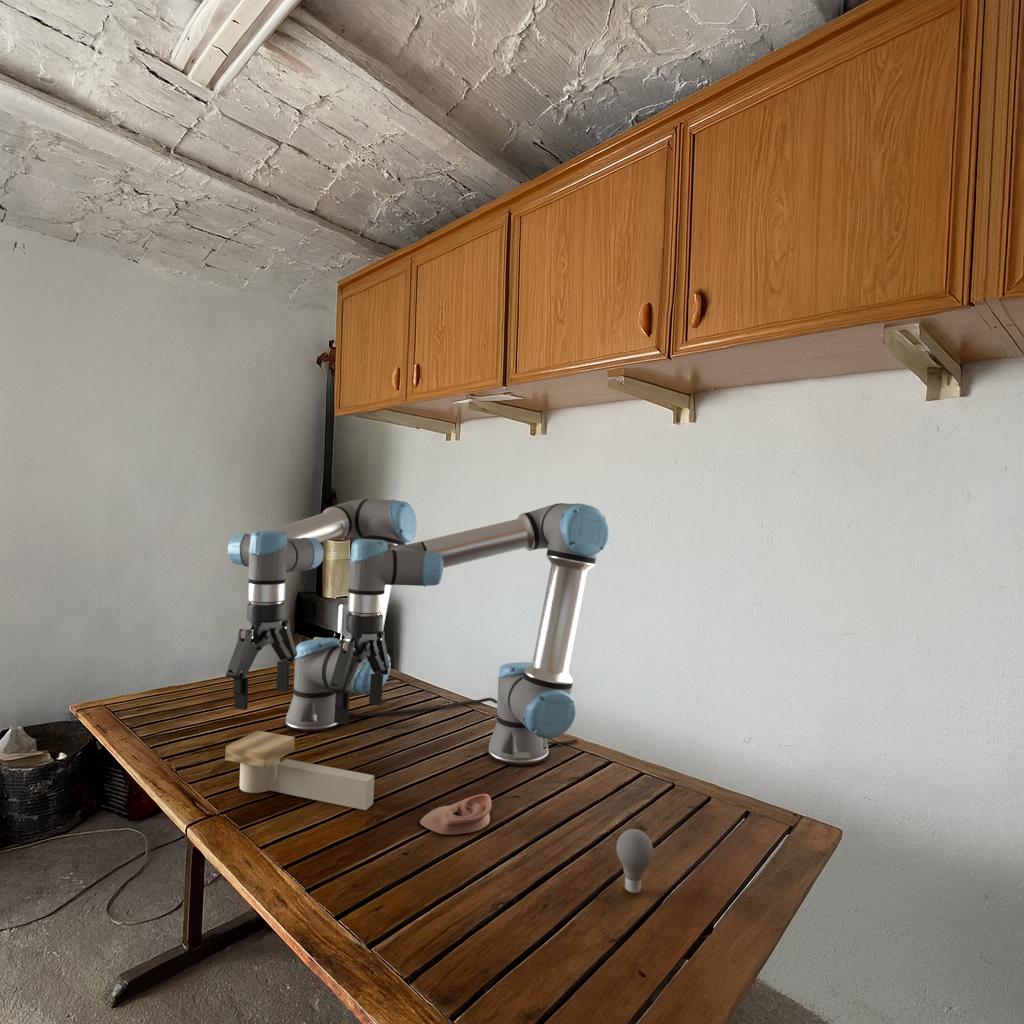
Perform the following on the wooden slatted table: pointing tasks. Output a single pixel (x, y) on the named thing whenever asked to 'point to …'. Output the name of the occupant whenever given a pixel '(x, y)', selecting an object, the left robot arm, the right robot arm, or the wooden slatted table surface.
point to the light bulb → (634, 857)
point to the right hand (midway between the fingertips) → (358, 713)
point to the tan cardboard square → (259, 748)
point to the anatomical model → (460, 816)
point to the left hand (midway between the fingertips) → (262, 699)
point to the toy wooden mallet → (310, 782)
